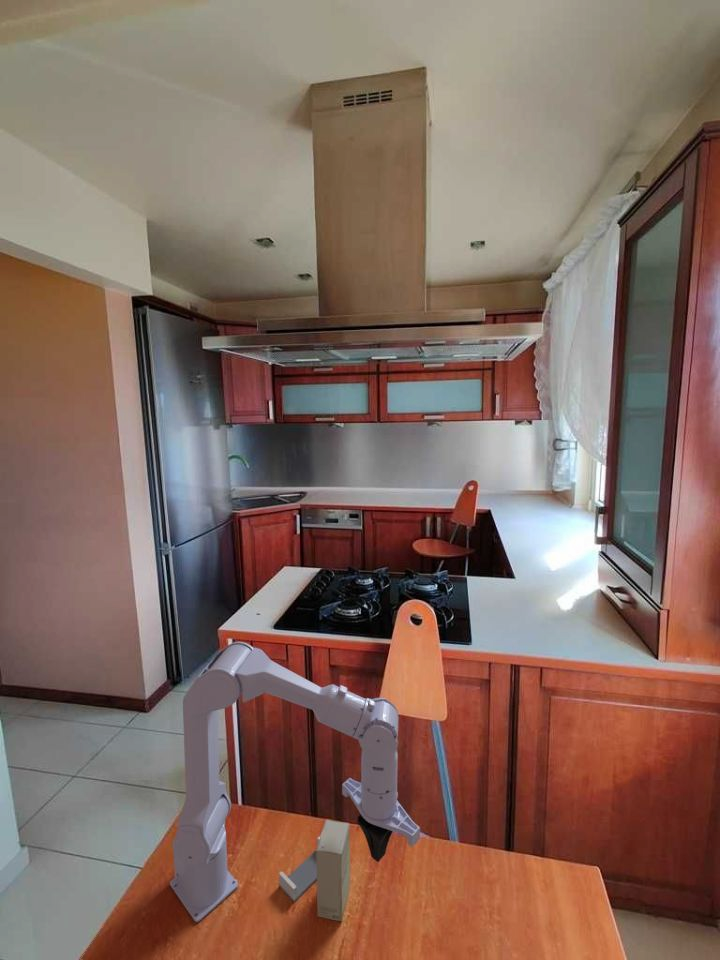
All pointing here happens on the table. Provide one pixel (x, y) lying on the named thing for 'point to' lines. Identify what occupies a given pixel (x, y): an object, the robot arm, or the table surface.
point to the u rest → (300, 877)
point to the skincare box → (333, 870)
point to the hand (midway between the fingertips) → (378, 855)
